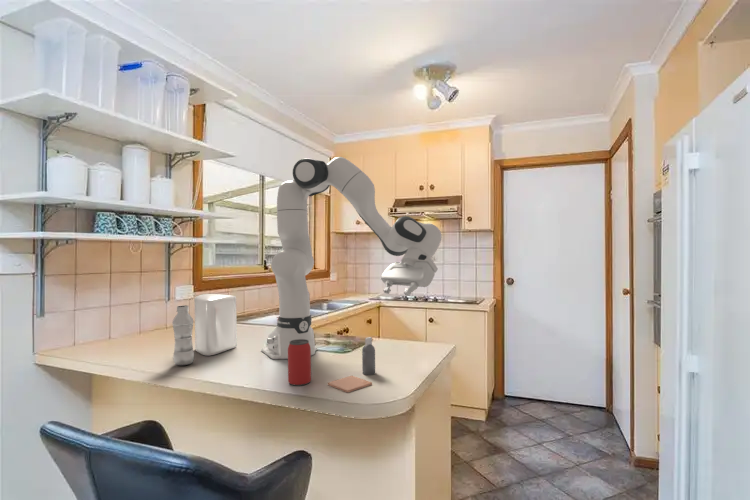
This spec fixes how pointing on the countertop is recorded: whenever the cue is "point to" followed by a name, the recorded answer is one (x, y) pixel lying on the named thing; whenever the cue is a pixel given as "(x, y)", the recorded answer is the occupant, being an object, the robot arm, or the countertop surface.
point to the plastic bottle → (183, 336)
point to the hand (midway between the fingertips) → (395, 293)
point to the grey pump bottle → (368, 357)
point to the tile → (349, 383)
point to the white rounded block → (215, 323)
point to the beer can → (299, 362)
